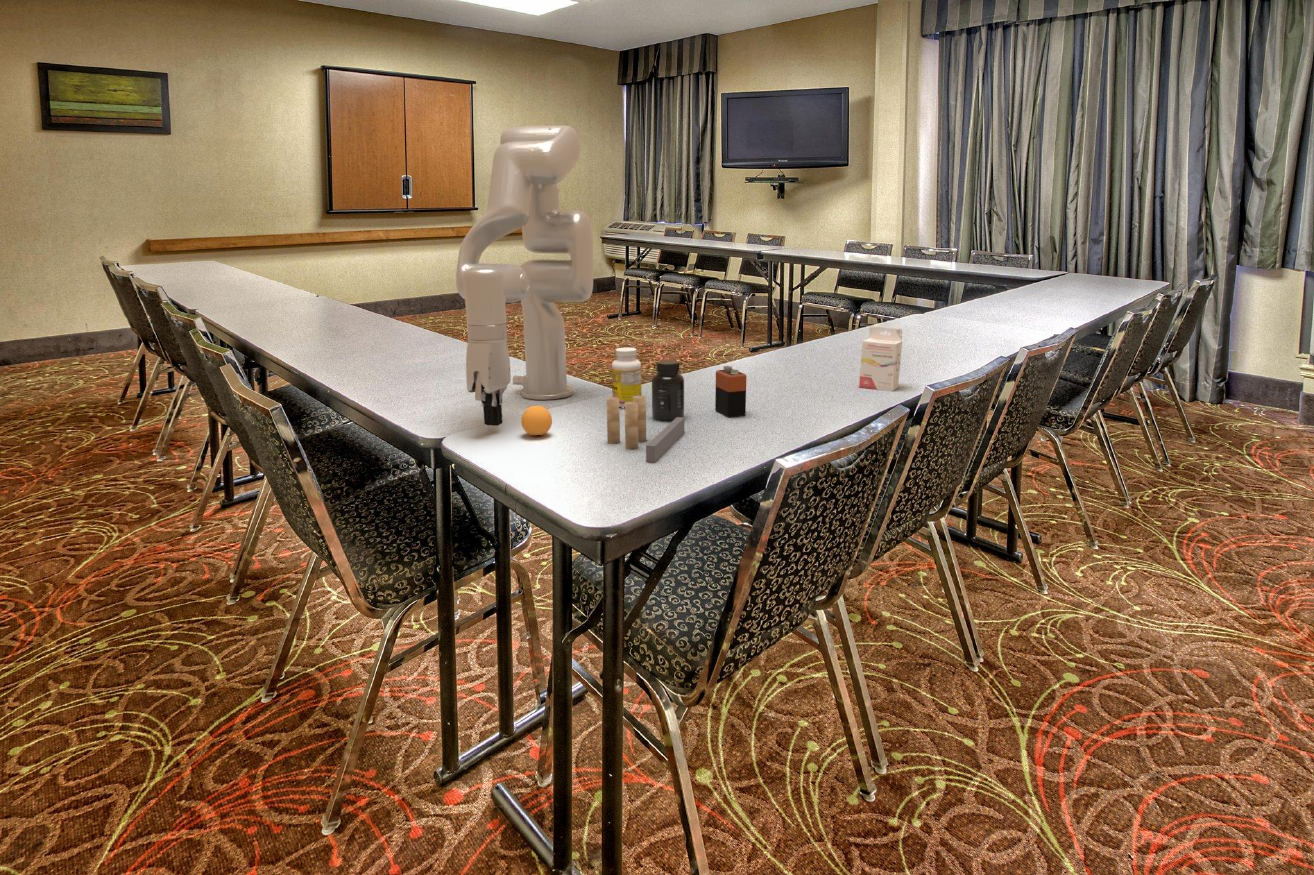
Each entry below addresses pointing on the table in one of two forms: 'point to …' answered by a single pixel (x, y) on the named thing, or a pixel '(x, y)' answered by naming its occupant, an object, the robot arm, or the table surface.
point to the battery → (730, 392)
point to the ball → (536, 420)
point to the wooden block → (613, 420)
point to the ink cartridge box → (881, 359)
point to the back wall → (664, 440)
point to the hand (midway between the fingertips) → (493, 424)
